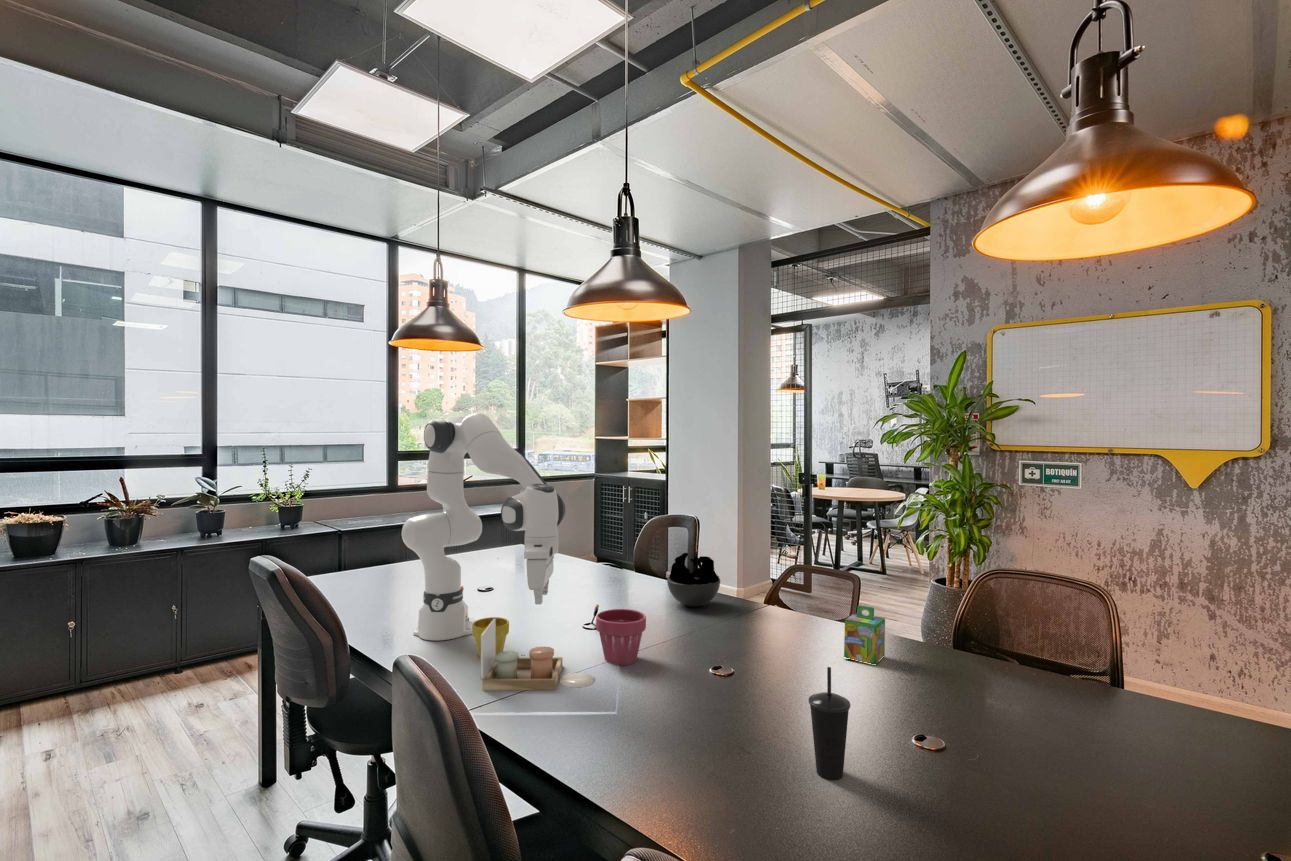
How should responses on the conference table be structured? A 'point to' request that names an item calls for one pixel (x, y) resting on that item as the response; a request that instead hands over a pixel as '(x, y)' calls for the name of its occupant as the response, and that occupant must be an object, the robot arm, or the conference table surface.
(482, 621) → the plant pot
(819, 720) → the drinking cup
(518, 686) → the brown wooden tray
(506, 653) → the sage pot
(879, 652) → the chalk box
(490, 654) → the propped lid
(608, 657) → the plant pot
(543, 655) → the peach mushroom knob
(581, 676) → the cream disc
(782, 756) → the conference table surface
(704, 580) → the coal bowl
